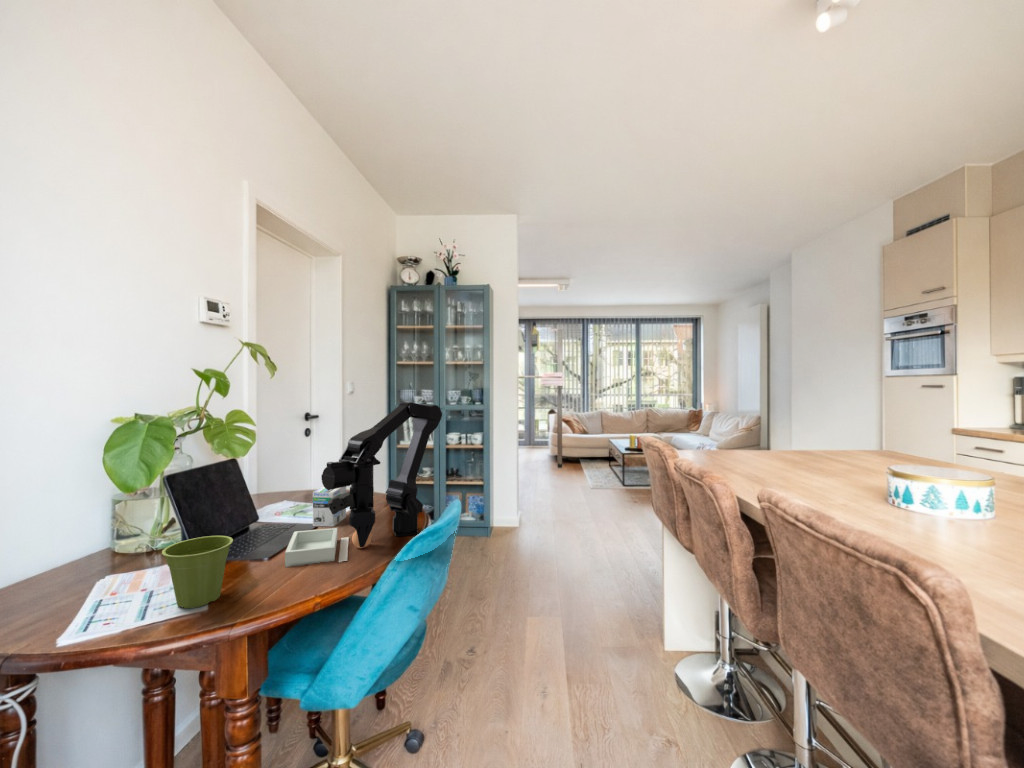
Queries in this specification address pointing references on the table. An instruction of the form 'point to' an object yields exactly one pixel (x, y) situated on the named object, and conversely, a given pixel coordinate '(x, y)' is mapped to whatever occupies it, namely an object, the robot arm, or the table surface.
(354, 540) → the ball
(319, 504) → the light bulb box
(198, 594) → the plant pot
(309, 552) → the tray
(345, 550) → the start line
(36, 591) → the table surface
